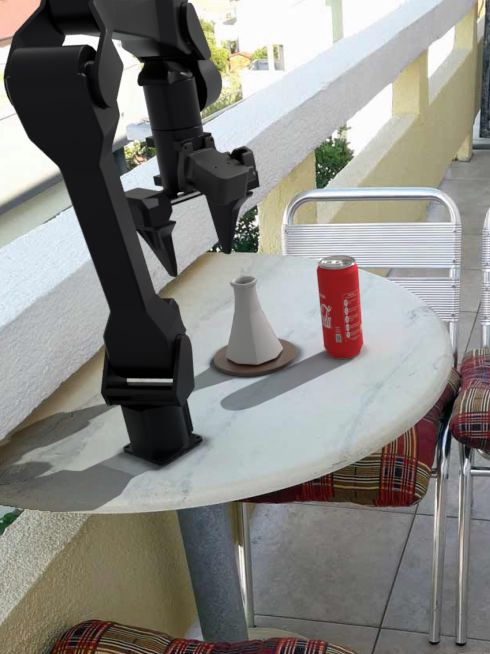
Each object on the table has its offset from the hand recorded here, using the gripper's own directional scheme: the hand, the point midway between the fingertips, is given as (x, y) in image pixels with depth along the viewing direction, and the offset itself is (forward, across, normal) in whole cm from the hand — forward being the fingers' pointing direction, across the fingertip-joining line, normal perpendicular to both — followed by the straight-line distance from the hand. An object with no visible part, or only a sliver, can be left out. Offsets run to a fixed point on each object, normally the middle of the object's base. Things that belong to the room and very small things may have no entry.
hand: (201, 264), depth 105 cm
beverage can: (+13, +11, -13) cm, 21 cm away
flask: (+13, +3, -3) cm, 13 cm away
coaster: (+13, +4, -3) cm, 14 cm away
